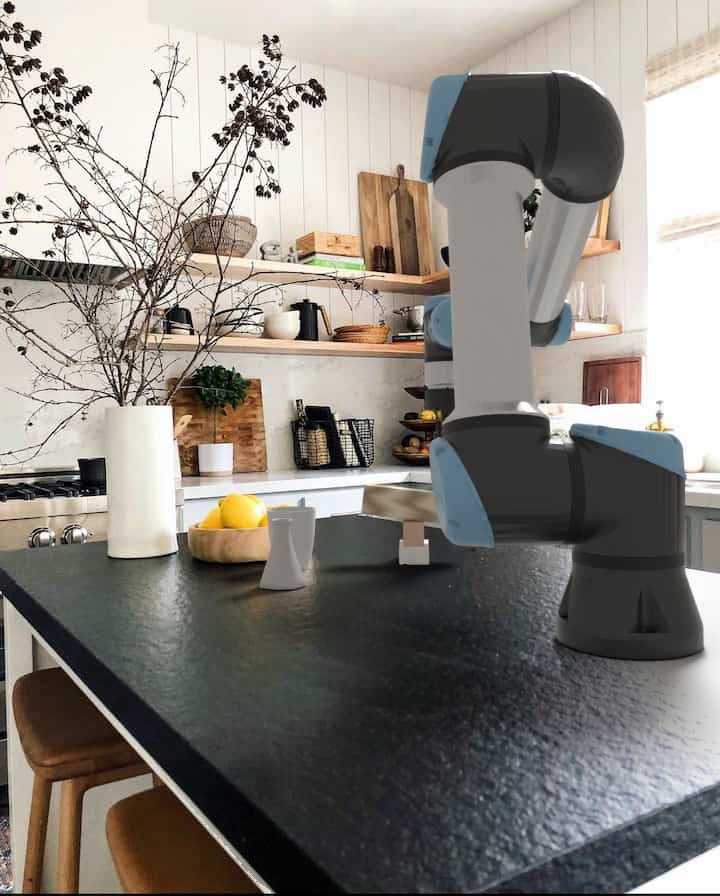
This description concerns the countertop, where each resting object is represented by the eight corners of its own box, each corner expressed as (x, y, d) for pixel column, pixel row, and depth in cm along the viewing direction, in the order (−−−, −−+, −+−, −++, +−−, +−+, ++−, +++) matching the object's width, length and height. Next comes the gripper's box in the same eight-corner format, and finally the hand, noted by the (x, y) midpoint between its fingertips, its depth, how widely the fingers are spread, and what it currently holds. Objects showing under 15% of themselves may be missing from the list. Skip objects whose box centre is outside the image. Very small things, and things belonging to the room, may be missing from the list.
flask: (299, 592, 117) (298, 522, 117) (251, 591, 119) (250, 522, 119) (312, 582, 125) (311, 516, 124) (267, 581, 126) (265, 516, 126)
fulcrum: (429, 564, 138) (428, 522, 137) (399, 564, 138) (398, 523, 138) (428, 556, 146) (427, 517, 145) (400, 556, 146) (399, 517, 146)
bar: (464, 523, 143) (467, 495, 143) (465, 526, 139) (469, 497, 139) (362, 511, 144) (365, 483, 144) (361, 513, 140) (364, 484, 140)
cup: (320, 564, 139) (319, 506, 139) (312, 573, 131) (311, 511, 131) (273, 564, 140) (272, 506, 140) (263, 573, 132) (261, 511, 132)
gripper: (472, 385, 132) (474, 529, 133) (465, 388, 149) (468, 516, 150) (425, 386, 132) (428, 530, 133) (424, 389, 149) (426, 517, 150)
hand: (449, 522), depth 141 cm, fingers closed on bar, 4 cm apart
